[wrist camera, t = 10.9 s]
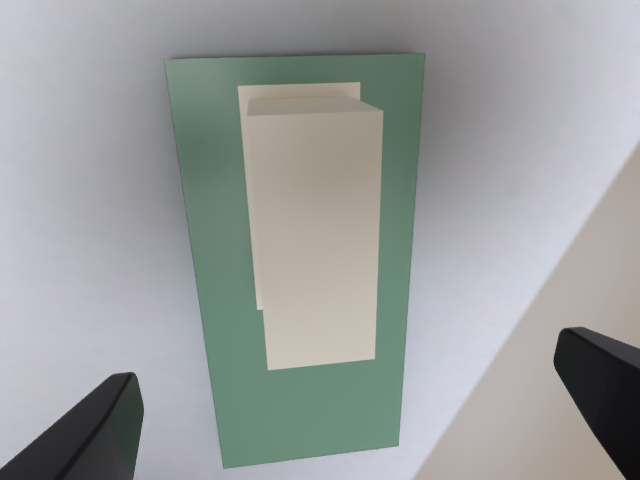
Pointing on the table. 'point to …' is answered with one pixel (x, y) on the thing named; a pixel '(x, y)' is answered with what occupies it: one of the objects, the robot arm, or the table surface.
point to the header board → (243, 263)
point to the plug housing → (317, 226)
